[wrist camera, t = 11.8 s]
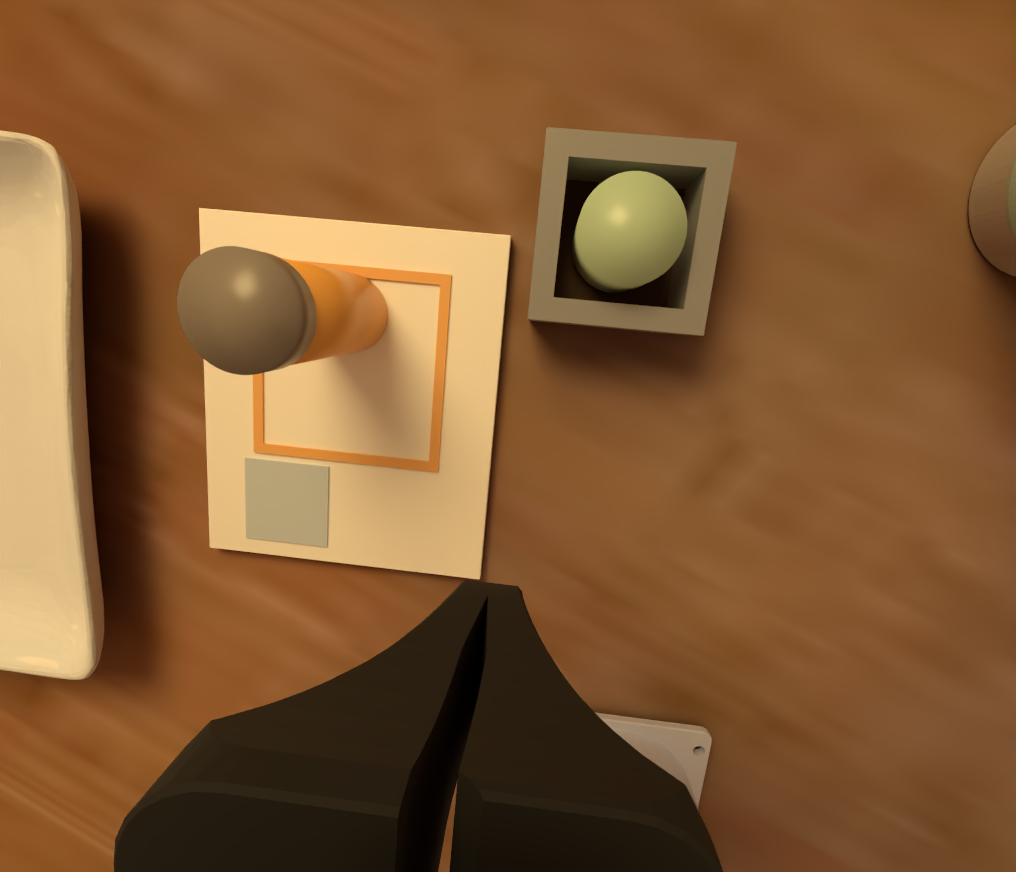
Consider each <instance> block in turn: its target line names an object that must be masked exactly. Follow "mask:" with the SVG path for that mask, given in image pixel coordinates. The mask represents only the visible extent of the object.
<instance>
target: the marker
mask: <svg viewBox="0 0 1016 872" xmlns="http://www.w3.org/2000/svg"><path fill="white" fill-rule="evenodd" d="M177 309H178V316H179V320H180V324H181V327H182V329H183V332H184V334H185V336H186V338H187V340H188V341H189V343H190V344H191V346H192V347H193V348H194V349H195V351H196V352H197V353H198V354H199V355H200V356H201V357H202V358H203V359H204V360H206V361H207V362H208V363H210V364H211V365H213V366H215V367H216V368H218V369H221V370H223V371H225V372H228V373H232V374H237V375H255V374H260V373H265V372H270V371H274V370H279V369H282V368H285V367H287V366H290V365H295V364H300V363H305V362H310V361H315V360H319V359H324V358H329V357H334V356H339V355H344V354H349V353H354V352H359V351H363V350H366V349H368V348H370V347H372V346H373V345H374V344H376V343H377V342H378V341H379V339H380V338H381V337H382V335H383V333H384V331H385V328H386V325H387V318H388V312H387V306H386V302H385V300H384V297H383V295H382V293H381V292H380V290H379V289H378V288H377V287H376V286H375V285H374V284H373V283H372V282H371V281H370V280H368V279H367V278H365V277H363V276H361V275H357V274H354V273H349V272H344V271H340V270H335V269H331V268H326V267H321V266H317V265H312V264H307V263H303V262H298V261H294V260H289V259H284V258H280V257H277V256H275V255H273V254H269V253H266V252H261V251H257V250H252V249H248V248H243V247H237V246H223V247H217V248H214V249H211V250H208V251H206V252H204V253H203V254H201V255H200V256H198V257H197V258H196V259H195V260H194V261H193V262H192V263H191V264H190V265H189V266H188V268H187V269H186V271H185V273H184V274H183V276H182V279H181V281H180V285H179V289H178V295H177Z"/></svg>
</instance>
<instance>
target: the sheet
mask: <svg viewBox="0 0 1016 872" xmlns="http://www.w3.org/2000/svg"><path fill="white" fill-rule="evenodd" d="M199 222H200V253H201V254H203V253H204V252H206V251H208V250H211V249H214V248H217V247H223V246H237V247H243V248H248V249H252V250H257V251H261V252H266V253H269V254H273V255H275V256H277V257H280V258H284V259H289V260H294V261H298V262H303V263H307V264H312V265H317V266H321V267H326V268H331V269H335V270H340V271H344V272H349V273H354V274H357V275H361V276H363V277H365V278H367V279H368V280H370V281H371V282H372V283H373V284H374V285H375V286H376V287H377V288H378V289H379V290H380V292H381V293H382V295H383V297H384V300H385V302H386V306H387V312H388V318H387V325H386V328H385V331H384V333H383V335H382V337H381V338H380V339H379V341H378V342H377V343H376V344H374V345H373V346H372V347H370V348H368V349H366V350H363V351H359V352H354V353H349V354H344V355H339V356H334V357H329V358H324V359H319V360H315V361H310V362H305V363H300V364H295V365H290V366H287V367H285V368H282V369H279V370H274V371H270V372H265V373H260V374H255V375H237V374H232V373H228V372H225V371H223V370H221V369H218V368H216V367H215V366H213V365H211V364H210V363H208V362H207V361H206V360H204V379H205V410H206V442H207V473H208V505H209V536H210V547H211V548H220V549H228V550H237V551H245V552H253V553H262V554H270V555H278V556H287V557H295V558H304V559H312V560H320V561H329V562H337V563H345V564H354V565H362V566H371V567H379V568H387V569H396V570H404V571H413V572H421V573H429V574H438V575H446V576H454V577H463V578H471V579H480V576H481V569H482V558H483V546H484V535H485V524H486V513H487V502H488V491H489V480H490V469H491V458H492V447H493V436H494V425H495V414H496V403H497V391H498V380H499V369H500V358H501V347H502V336H503V325H504V314H505V303H506V292H507V281H508V270H509V259H510V248H511V235H500V234H489V233H477V232H466V231H454V230H443V229H432V228H420V227H409V226H398V225H386V224H375V223H364V222H352V221H341V220H329V219H318V218H307V217H295V216H284V215H273V214H261V213H250V212H239V211H227V210H216V209H204V208H199Z"/></svg>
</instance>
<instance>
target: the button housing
mask: <svg viewBox="0 0 1016 872" xmlns="http://www.w3.org/2000/svg"><path fill="white" fill-rule="evenodd" d="M736 145H737V142H731V141H718V140H706V139H693V138H680V137H667V136H654V135H641V134H629V133H616V132H603V131H590V130H577V129H565V128H552V127H547V130H546V140H545V150H544V160H543V170H542V180H541V190H540V200H539V210H538V220H537V230H536V240H535V250H534V260H533V270H532V280H531V290H530V300H529V310H528V320H529V321H538V322H548V323H559V324H569V325H580V326H590V327H601V328H611V329H622V330H632V331H643V332H653V333H664V334H674V335H690V336H704V331H705V325H706V319H707V314H708V308H709V302H710V296H711V290H712V285H713V279H714V273H715V267H716V261H717V256H718V250H719V244H720V238H721V232H722V227H723V221H724V215H725V209H726V203H727V198H728V192H729V186H730V180H731V174H732V169H733V163H734V157H735V151H736ZM627 171H644V172H649V173H652V174H655V175H657V176H659V177H661V178H663V179H664V180H666V181H667V182H668V183H669V184H670V185H672V186H673V188H674V189H685V192H684V198H683V204H684V207H685V210H686V215H687V235H686V239H685V243H684V246H683V249H682V251H681V253H680V255H679V257H678V258H677V260H676V261H675V263H674V264H673V269H672V276H671V282H670V288H669V295H668V301H667V308H664V307H653V306H643V305H632V304H621V303H610V302H600V301H589V300H578V299H567V298H557V297H553V296H554V287H555V278H556V269H557V260H558V251H559V242H560V232H561V223H562V214H563V205H564V196H565V187H566V180H576V181H588V182H600V183H602V182H603V181H605V180H606V179H608V178H610V177H611V176H614V175H616V174H619V173H622V172H627Z"/></svg>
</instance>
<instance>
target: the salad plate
mask: <svg viewBox="0 0 1016 872" xmlns="http://www.w3.org/2000/svg"><path fill="white" fill-rule="evenodd" d="M103 639H104V602H103V593H102V584H101V575H100V567H99V558H98V548H97V539H96V529H95V518H94V507H93V496H92V481H91V466H90V451H89V436H88V419H87V400H86V381H85V358H84V335H83V302H82V232H81V218H80V209H79V201H78V196H77V192H76V188H75V185H74V182H73V179H72V176H71V174H70V172H69V169H68V168H67V166H66V164H65V162H64V161H63V159H62V157H61V156H60V154H59V153H58V152H57V151H56V149H55V148H54V147H53V146H52V145H50V144H49V143H47V142H45V141H44V140H42V139H39V138H37V137H34V136H30V135H26V134H21V133H15V132H8V131H0V670H5V671H12V672H19V673H26V674H32V675H38V676H46V677H53V678H61V679H70V680H80V679H85V678H88V677H90V675H91V674H92V673H93V672H94V671H95V669H96V667H97V665H98V663H99V661H100V656H101V651H102V647H103Z"/></svg>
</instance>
